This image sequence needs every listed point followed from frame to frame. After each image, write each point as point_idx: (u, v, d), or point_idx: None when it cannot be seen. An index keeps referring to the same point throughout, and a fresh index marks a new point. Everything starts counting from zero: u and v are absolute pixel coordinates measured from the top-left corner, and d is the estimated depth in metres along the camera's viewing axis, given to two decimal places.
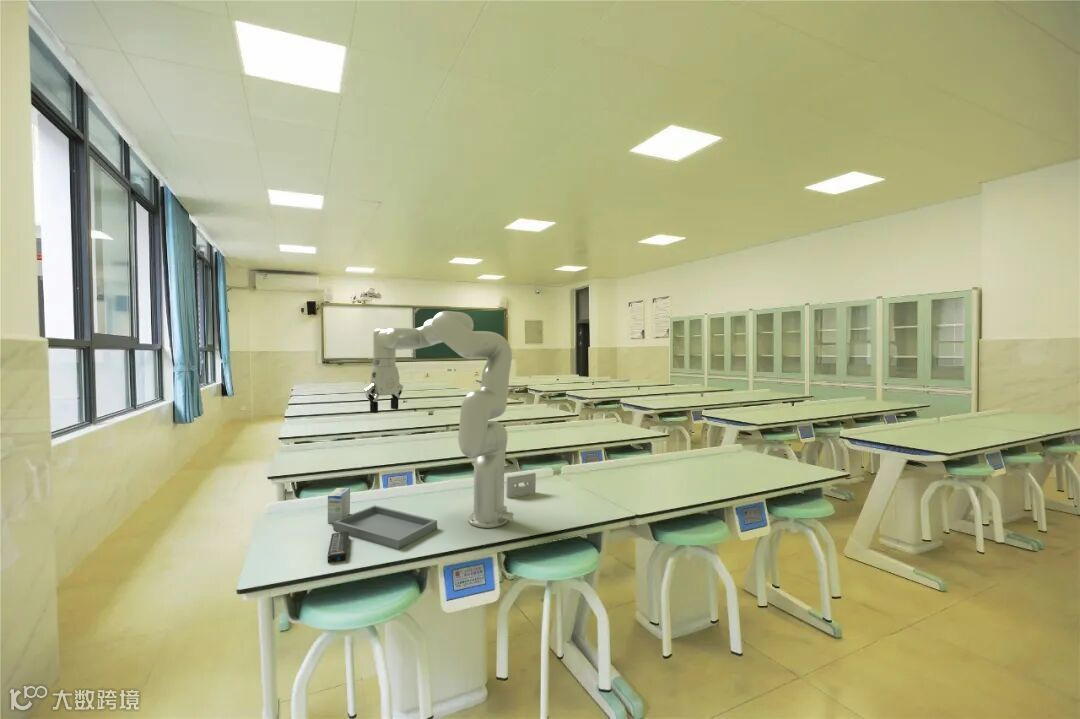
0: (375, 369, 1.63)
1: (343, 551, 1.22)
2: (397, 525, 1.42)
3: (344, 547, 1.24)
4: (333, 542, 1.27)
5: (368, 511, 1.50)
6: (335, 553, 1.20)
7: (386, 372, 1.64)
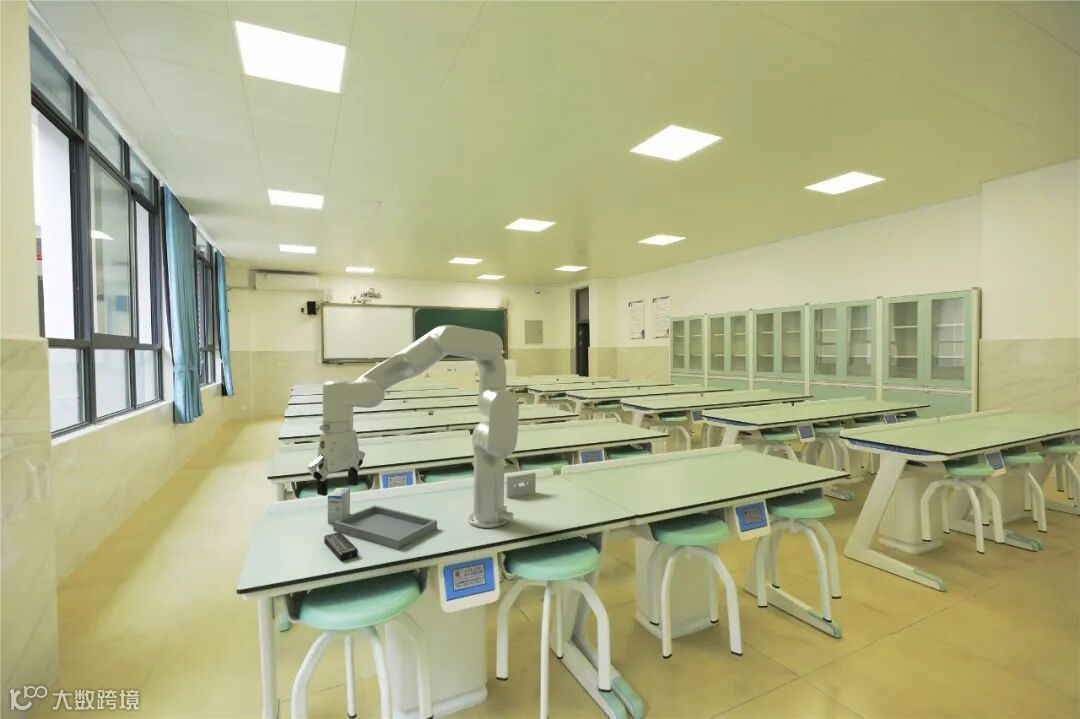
0: (324, 437, 1.21)
1: (353, 548, 1.23)
2: (397, 525, 1.42)
3: (351, 545, 1.25)
4: (334, 542, 1.26)
5: (368, 511, 1.50)
6: (347, 551, 1.22)
7: (339, 440, 1.23)
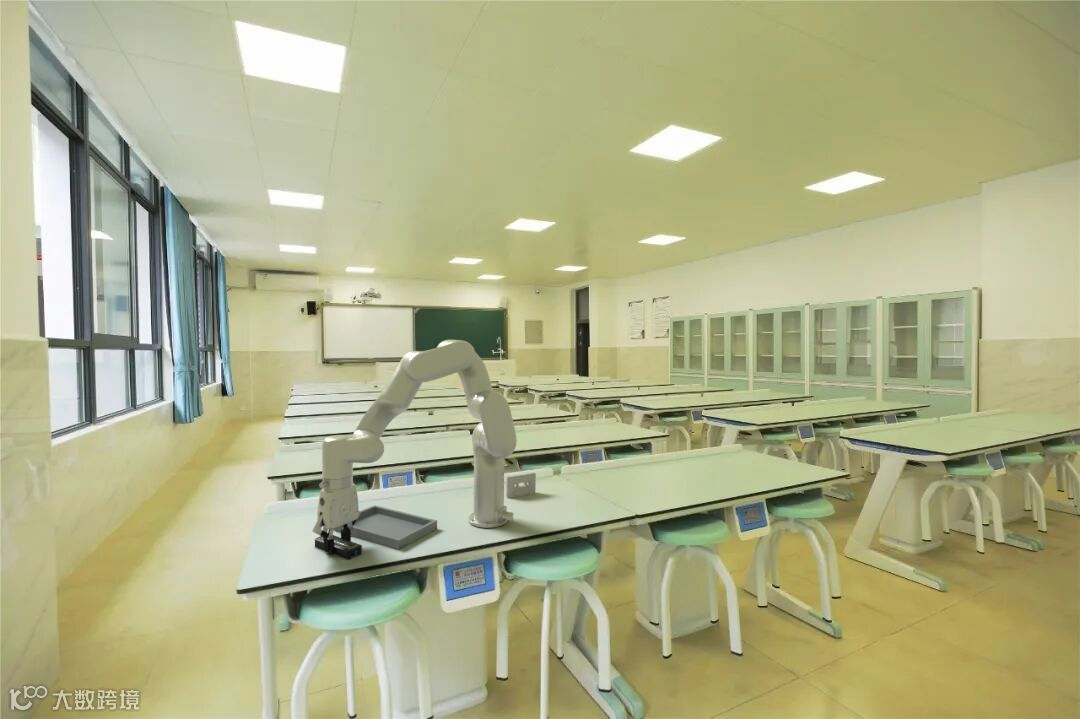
0: (323, 494, 1.21)
1: (357, 544, 1.25)
2: (397, 525, 1.42)
3: (351, 542, 1.26)
4: None
5: (368, 511, 1.50)
6: (352, 548, 1.23)
7: (339, 497, 1.23)
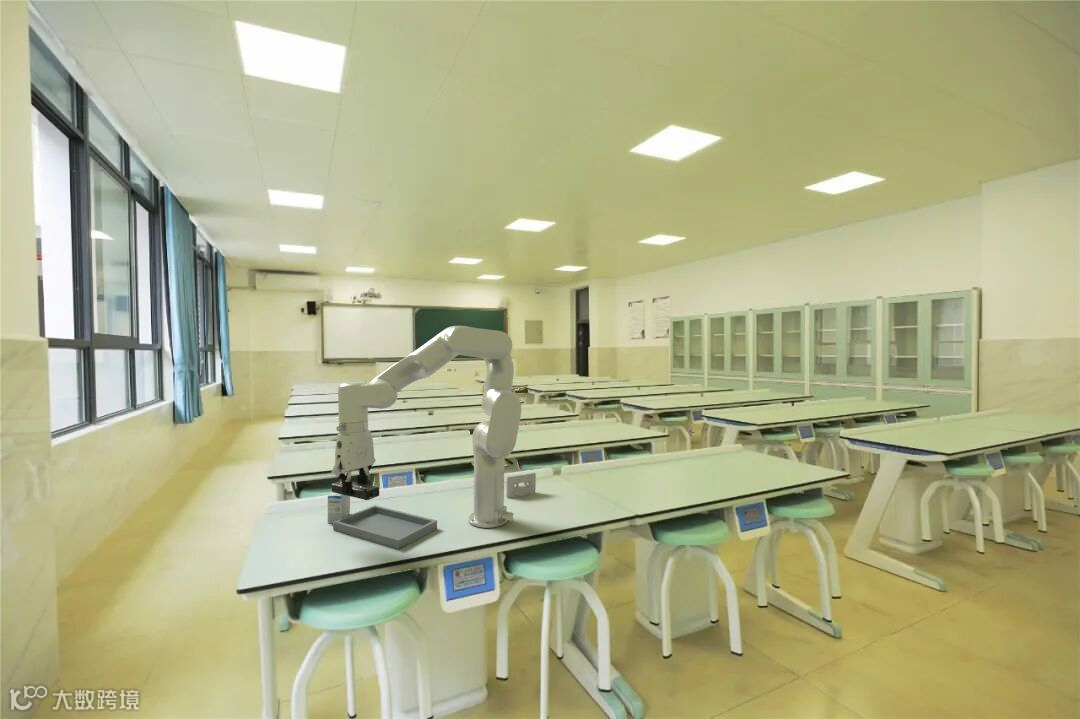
0: (341, 437, 1.25)
1: (374, 487, 1.29)
2: (397, 525, 1.42)
3: (368, 485, 1.30)
4: None
5: (368, 511, 1.50)
6: (370, 489, 1.27)
7: (356, 440, 1.27)
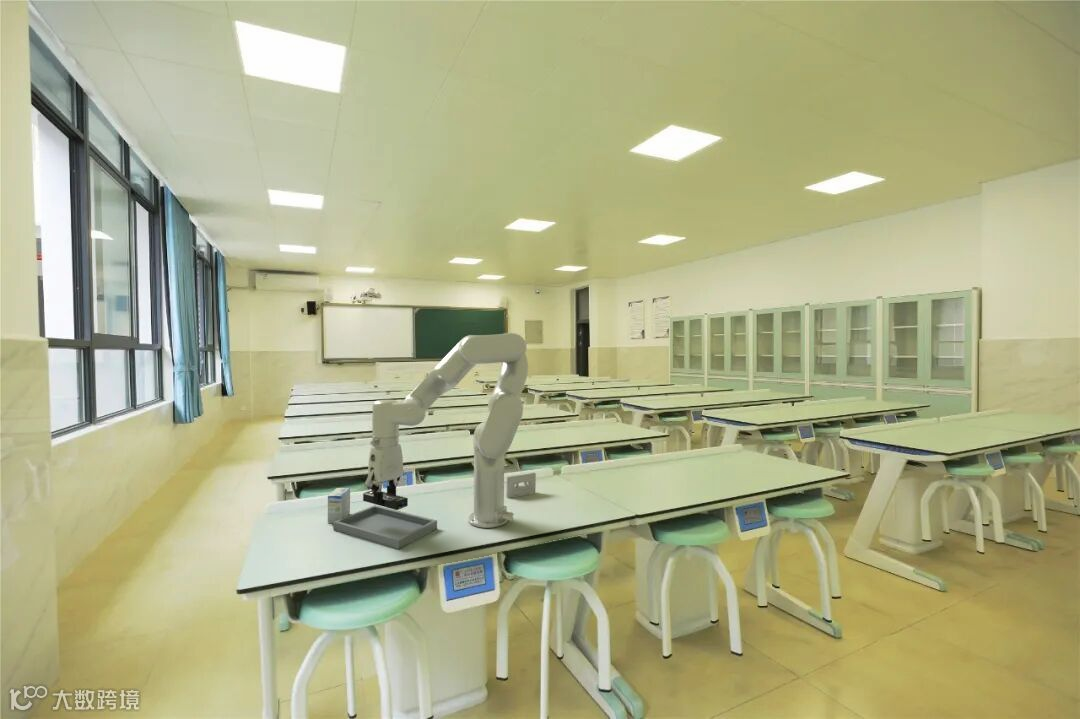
0: (374, 451, 1.35)
1: (403, 497, 1.38)
2: (397, 525, 1.42)
3: (397, 496, 1.39)
4: None
5: (368, 511, 1.50)
6: (399, 499, 1.36)
7: (387, 454, 1.36)
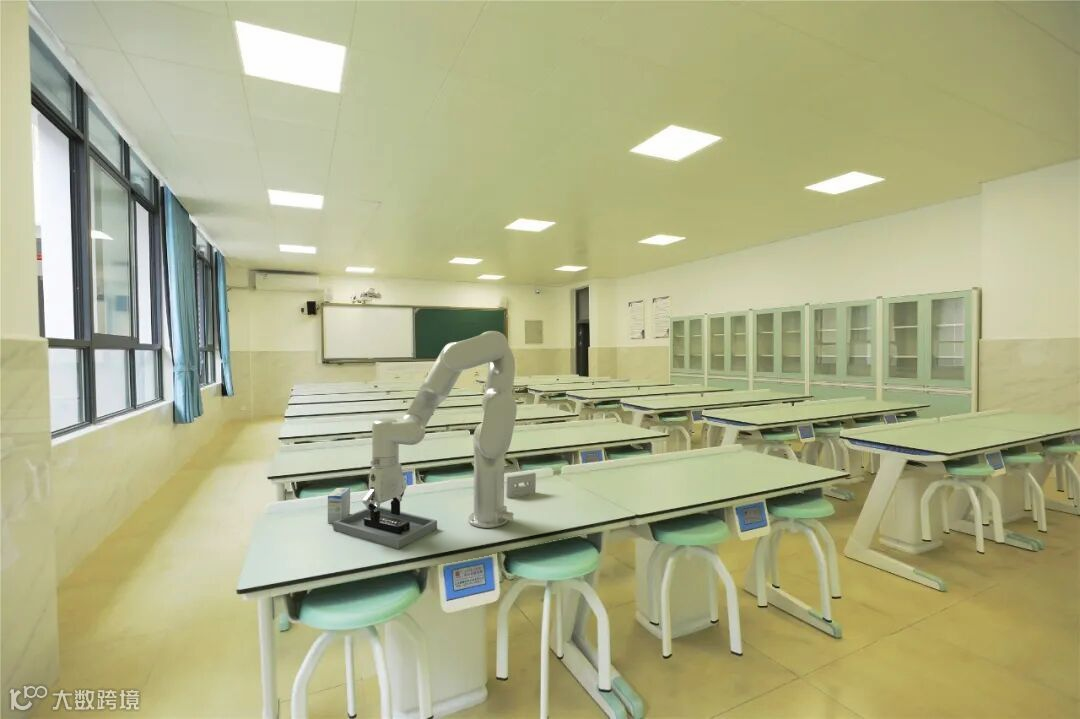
0: (374, 471, 1.35)
1: (405, 521, 1.39)
2: None
3: (399, 520, 1.40)
4: (381, 521, 1.39)
5: (368, 511, 1.50)
6: (402, 524, 1.37)
7: (388, 473, 1.37)
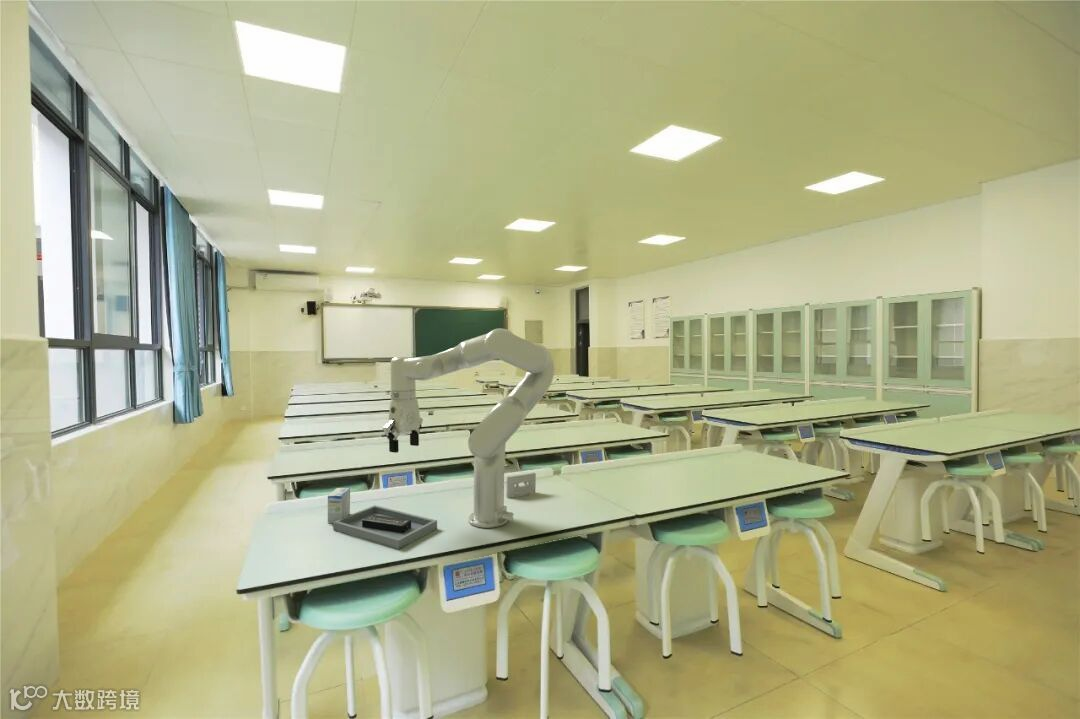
0: (394, 403, 1.45)
1: (406, 520, 1.40)
2: None
3: (399, 519, 1.41)
4: (381, 521, 1.39)
5: (368, 511, 1.50)
6: (404, 523, 1.38)
7: (406, 406, 1.46)
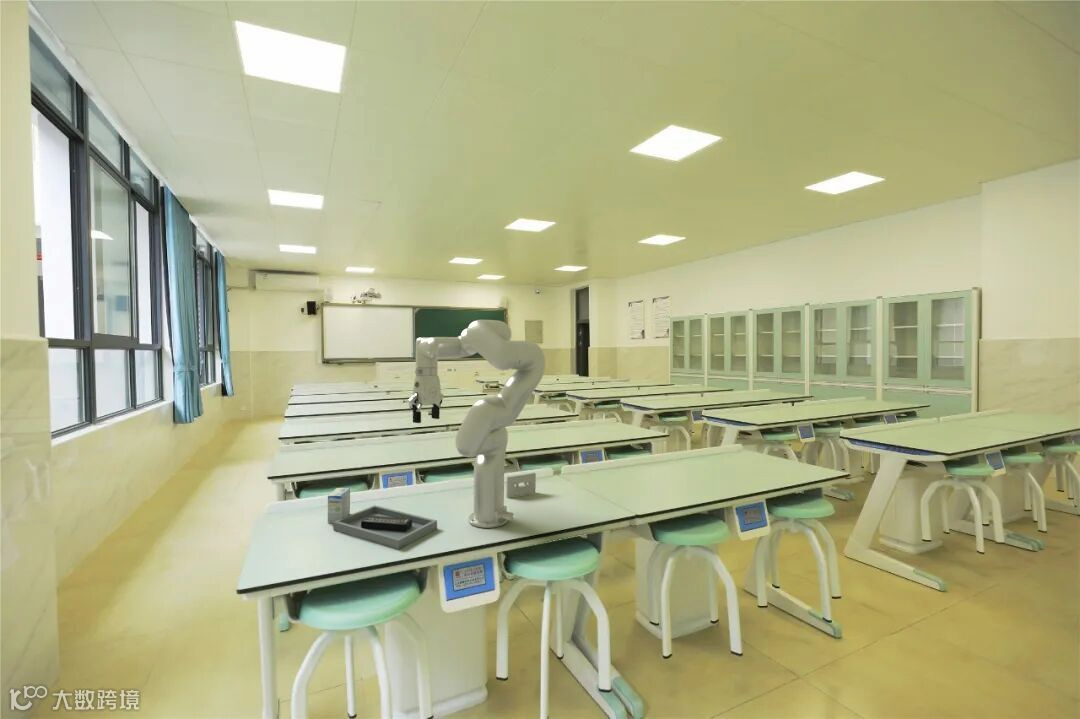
0: (418, 379, 1.60)
1: (407, 519, 1.41)
2: None
3: (399, 518, 1.41)
4: (382, 521, 1.39)
5: (368, 511, 1.50)
6: (406, 521, 1.39)
7: (429, 382, 1.62)
